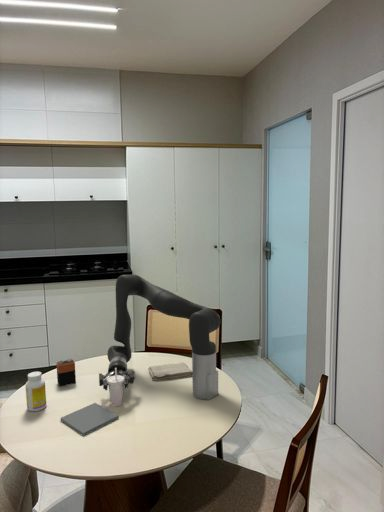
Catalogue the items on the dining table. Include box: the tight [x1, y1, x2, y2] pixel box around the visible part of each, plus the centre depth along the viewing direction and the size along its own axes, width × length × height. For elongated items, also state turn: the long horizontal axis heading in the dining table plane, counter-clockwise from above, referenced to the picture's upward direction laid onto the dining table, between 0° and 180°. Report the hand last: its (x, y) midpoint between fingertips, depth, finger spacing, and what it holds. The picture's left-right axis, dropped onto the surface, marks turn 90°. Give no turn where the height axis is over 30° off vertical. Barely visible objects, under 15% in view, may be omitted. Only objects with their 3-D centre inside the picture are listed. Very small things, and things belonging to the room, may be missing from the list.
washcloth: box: [147, 362, 192, 382], centre depth 173 cm, size 12×18×3 cm, turn 108°
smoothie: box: [107, 368, 125, 407], centre depth 146 cm, size 6×6×14 cm
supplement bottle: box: [25, 371, 47, 412], centre depth 144 cm, size 7×7×13 cm
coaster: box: [60, 402, 119, 437], centre depth 136 cm, size 14×14×1 cm
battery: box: [56, 358, 77, 387], centre depth 164 cm, size 4×7×10 cm, turn 118°
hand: (115, 387), depth 144 cm, fingers closed on smoothie, 6 cm apart
